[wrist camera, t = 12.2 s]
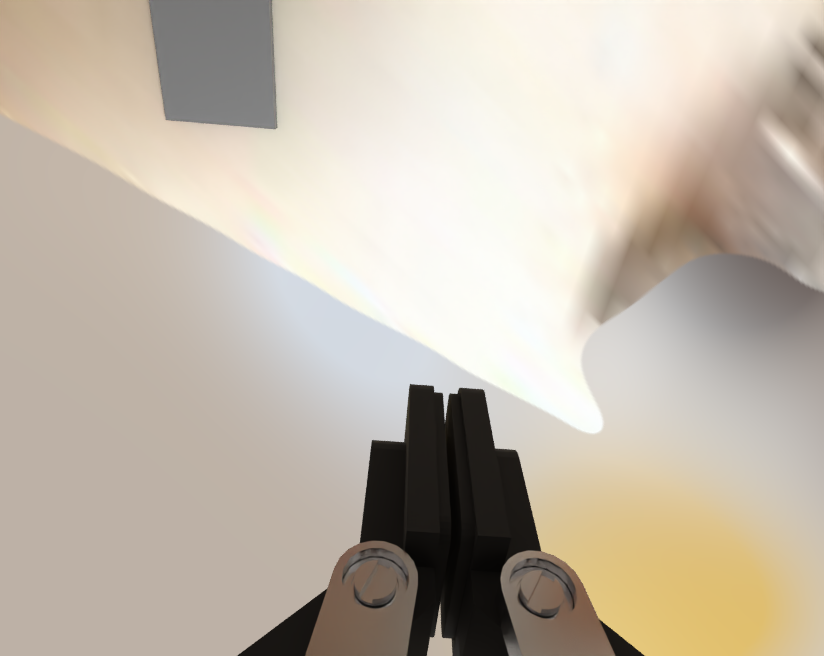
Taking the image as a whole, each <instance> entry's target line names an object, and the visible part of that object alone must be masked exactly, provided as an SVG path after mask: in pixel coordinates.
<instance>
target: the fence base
mask: <svg viewBox="0 0 824 656" xmlns="http://www.w3.org/2000/svg"><path fill="white" fill-rule="evenodd" d="M149 4H150V11H151V18H152V26H153V33H154V40H155V47H156V54H157V61H158V68H159V75H160V82H161V89H162V96H163V103H164V110H165V117H166V120H173V121H185V122H197V123H209V124H220V125H232V126H244V127H256V128H267V129H276V128H277V112H276V90H275V67H274V45H273V22H272V0H149Z"/></svg>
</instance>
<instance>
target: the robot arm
mask: <svg viewBox="0 0 824 656" xmlns="http://www.w3.org/2000/svg"><path fill="white" fill-rule="evenodd" d="M440 604H441V628H442V637H443V638H452V652H453V656H644V655H643V654H642V653H641V652H639V651H638V650H637V649H635V648H634V647H633V646H632V645H631V644H629V643H628V642H627V641H625V640H624V639H623V638H622V637H620V636H619V635H618V634H617V633H616V632H614V631H613V630H612V629H611V628H609V627H608V626H607V625H605V624H604V623H603V622H602V621H601V620H599V618H598V616H597V614H596V612H595V610H594V607H593V605H592V603H591V601H590V599H589V597H588V595H587V592H586V590H585V588H584V586H583V583H582V582H581V580H580V579H579V577H578V576H577V574H576V572H575V571H574V570H573V569H571V568H570V567H569V566H568V565H567V564H566V563H565V562H564V561H562V560H560V559H559V558H557V557H555V556H554V555H551V554H547V553H545V552H542V551H541V548H540V544H539V540H538V535H537V531H536V527H535V523H534V519H533V515H532V510H531V506H530V502H529V498H528V493H527V489H526V485H525V481H524V477H523V472H522V468H521V464H520V460H519V456H518V453H517V452H516V450H507V449H495V446H494V441H493V436H492V430H491V425H490V419H489V414H488V408H487V403H486V397H485V392H484V390H482V389H469V388H459V390H458V394H450V395H449V399H448V406H447V413H446V420H445V419H444V404H443V394H442V393H436V392H434V387H433V386H427V385H412V384H410V388H409V397H408V407H407V418H406V430H405V439H404V442H391V441H376V440H372V445H371V452H370V461H369V470H368V479H367V487H366V495H365V504H364V512H363V522H362V530H361V538H360V543H359V544H357V545H356V546H353V547H352V548H350V549H348V550H347V551H346V552H345V553H344V554H343V555H342V556H341V557H340V558H339V560H338V562H337V564H336V566H335V568H334V570H333V573H332V576H331V579H330V582H329V586H328V588H327V589H326V590H325V591H323V592H322V593H321V594H319V595H318V596H317V597H315V598H314V599H313V600H311V601H310V602H309V603H307V604H306V605H305V606H303V607H302V608H301V609H299V610H298V611H296V612H295V613H294V614H293V615H291V616H290V617H288V618H287V619H286V620H284V621H283V622H282V623H280V624H279V625H278V626H276V627H275V628H274V629H272V630H271V631H270V632H268V633H267V634H266V635H264V636H263V637H262V638H261V639H259V640H258V641H256V642H255V643H254V644H252V645H251V646H250V647H248V648H247V649H246V650H244V651H243V652H242V653H240V654H239V655H238V656H427V651H428V645H429V639H430V637H434V635H435V629H436V623H437V618H438V611H439V606H440Z"/></svg>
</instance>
